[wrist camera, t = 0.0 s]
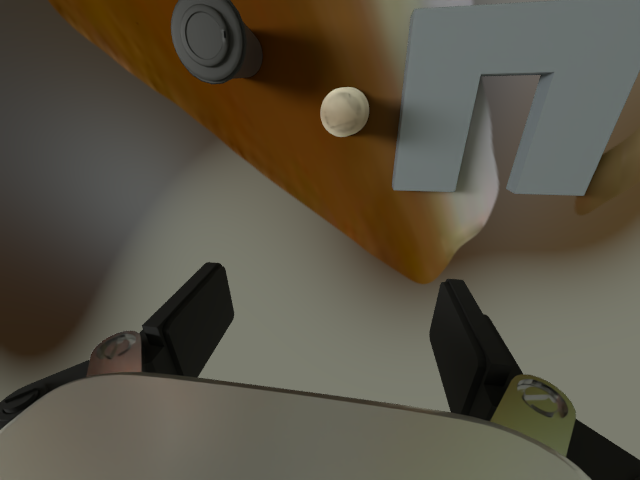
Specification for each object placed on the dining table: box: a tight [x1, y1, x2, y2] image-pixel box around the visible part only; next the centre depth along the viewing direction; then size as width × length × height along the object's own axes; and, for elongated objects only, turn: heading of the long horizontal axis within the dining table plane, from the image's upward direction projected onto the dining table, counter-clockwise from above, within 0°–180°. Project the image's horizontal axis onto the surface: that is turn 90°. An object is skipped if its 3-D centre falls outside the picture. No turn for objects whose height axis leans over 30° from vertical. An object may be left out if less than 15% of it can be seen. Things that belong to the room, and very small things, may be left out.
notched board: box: [392, 0, 640, 196], centre depth 33 cm, size 20×24×2 cm
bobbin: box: [320, 87, 369, 137], centre depth 32 cm, size 6×6×10 cm
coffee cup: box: [171, 0, 263, 84], centre depth 31 cm, size 8×8×10 cm
